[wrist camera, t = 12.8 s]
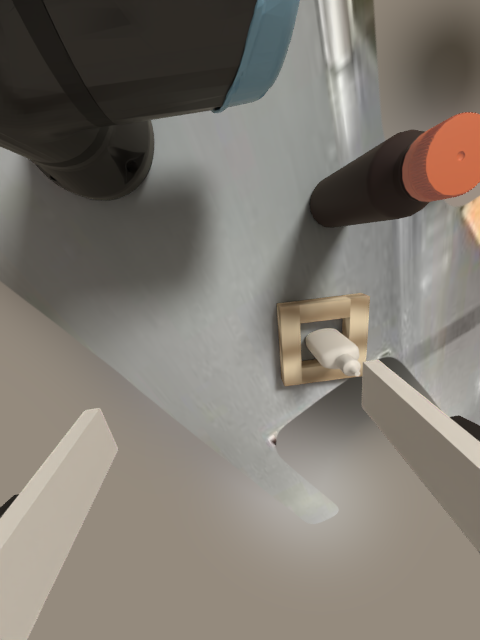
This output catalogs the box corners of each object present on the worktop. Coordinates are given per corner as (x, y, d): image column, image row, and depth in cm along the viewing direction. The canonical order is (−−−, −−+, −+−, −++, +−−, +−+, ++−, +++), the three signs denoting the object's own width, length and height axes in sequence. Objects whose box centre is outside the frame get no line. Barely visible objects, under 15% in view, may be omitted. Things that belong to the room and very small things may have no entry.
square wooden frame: (276, 303, 39) (280, 307, 37) (361, 293, 39) (369, 296, 37) (281, 378, 43) (284, 386, 41) (357, 368, 44) (365, 375, 41)
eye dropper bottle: (331, 352, 42) (370, 392, 31) (301, 345, 42) (330, 384, 30) (340, 329, 41) (384, 362, 30) (309, 322, 40) (343, 354, 29)
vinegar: (348, 168, 34) (510, 73, 15) (359, 217, 36) (512, 189, 17) (303, 187, 34) (403, 119, 15) (316, 235, 36) (418, 227, 17)
